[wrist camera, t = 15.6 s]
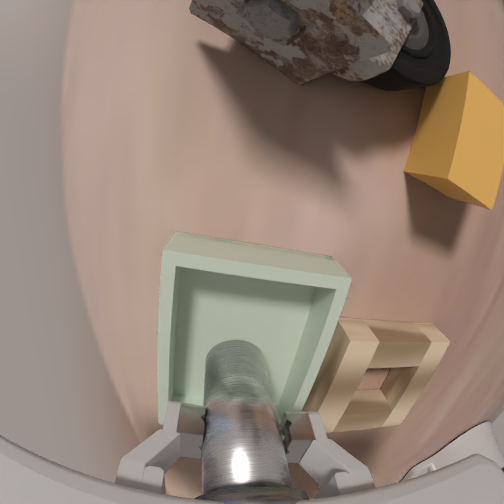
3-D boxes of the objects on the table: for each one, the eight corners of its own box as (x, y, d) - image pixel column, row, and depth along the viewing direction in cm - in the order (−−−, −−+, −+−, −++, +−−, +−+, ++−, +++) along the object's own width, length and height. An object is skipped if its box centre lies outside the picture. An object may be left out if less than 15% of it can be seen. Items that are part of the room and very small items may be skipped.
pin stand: (388, 403, 20) (400, 424, 18) (299, 408, 19) (306, 433, 17) (431, 323, 18) (450, 341, 15) (335, 316, 17) (350, 340, 14)
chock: (448, 197, 15) (491, 210, 11) (402, 171, 14) (447, 178, 11) (468, 114, 13) (511, 113, 10) (425, 82, 13) (469, 71, 9)
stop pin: (264, 390, 15) (293, 535, 7) (195, 385, 14) (188, 537, 6) (279, 336, 14) (331, 502, 5) (200, 328, 13) (188, 507, 5)
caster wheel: (410, 45, 14) (355, 147, 15) (283, -64, 9) (180, 19, 10) (487, 29, 8) (456, 152, 9) (339, -120, 3) (212, -70, 4)
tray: (283, 404, 19) (289, 435, 16) (165, 391, 18) (158, 423, 15) (331, 256, 15) (352, 278, 13) (175, 231, 14) (163, 250, 12)
